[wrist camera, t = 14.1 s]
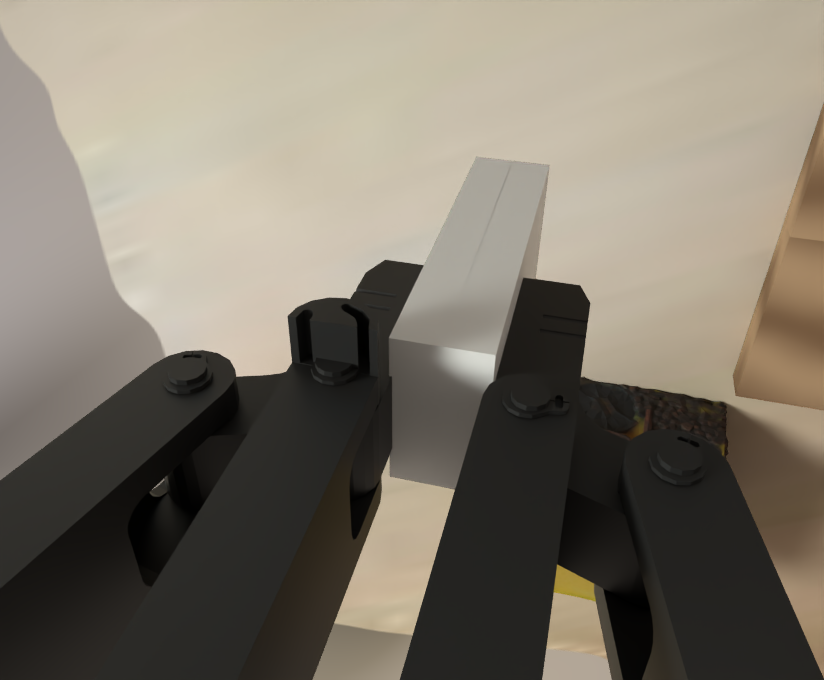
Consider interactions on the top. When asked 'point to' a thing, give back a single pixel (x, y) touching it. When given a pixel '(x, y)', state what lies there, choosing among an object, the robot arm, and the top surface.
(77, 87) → the top surface
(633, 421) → the black and yellow cube
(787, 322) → the seat board
